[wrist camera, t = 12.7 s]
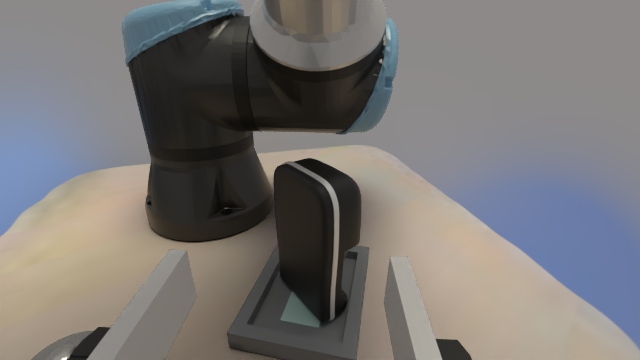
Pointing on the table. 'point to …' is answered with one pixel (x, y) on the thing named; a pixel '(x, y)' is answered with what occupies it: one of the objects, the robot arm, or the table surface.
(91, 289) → the table surface
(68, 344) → the short grey cell
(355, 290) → the dock
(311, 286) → the battery charger
